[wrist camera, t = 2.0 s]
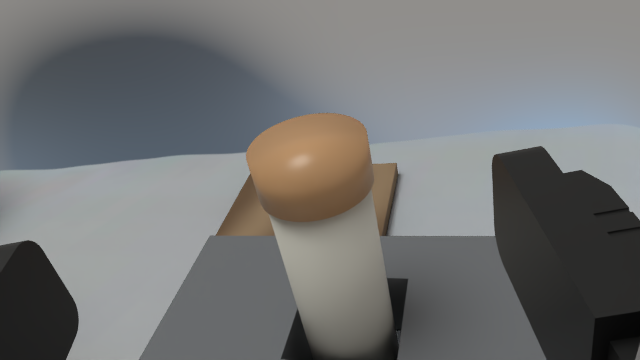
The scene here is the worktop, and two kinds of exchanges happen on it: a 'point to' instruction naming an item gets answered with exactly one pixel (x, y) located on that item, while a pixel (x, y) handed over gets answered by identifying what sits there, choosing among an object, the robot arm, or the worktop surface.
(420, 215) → the worktop surface
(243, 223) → the pad
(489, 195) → the worktop surface
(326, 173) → the plug
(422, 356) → the grey base plate
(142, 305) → the worktop surface
